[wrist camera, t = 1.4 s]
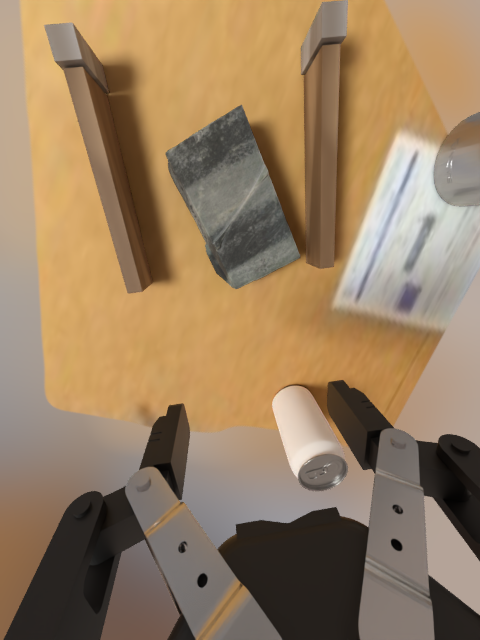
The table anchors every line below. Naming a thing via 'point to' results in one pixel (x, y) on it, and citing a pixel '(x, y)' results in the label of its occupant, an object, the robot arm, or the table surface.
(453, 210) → the table surface
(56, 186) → the table surface
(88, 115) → the pair of wooden rails
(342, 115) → the table surface
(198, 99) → the table surface
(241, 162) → the stone block
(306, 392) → the can
